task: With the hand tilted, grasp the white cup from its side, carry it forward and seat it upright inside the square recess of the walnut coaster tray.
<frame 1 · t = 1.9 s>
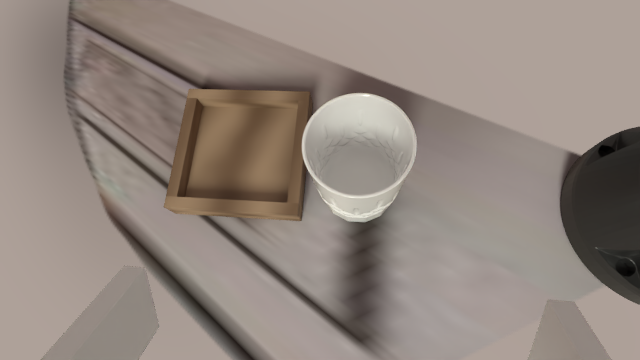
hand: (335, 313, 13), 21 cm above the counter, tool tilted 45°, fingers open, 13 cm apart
white cup: (358, 187, 37), on the counter
walnut coaster tray: (246, 157, 38), on the counter
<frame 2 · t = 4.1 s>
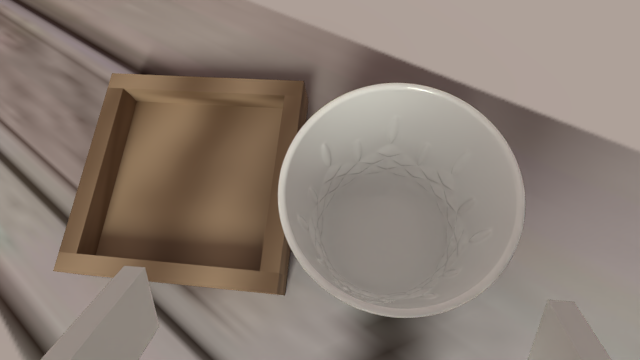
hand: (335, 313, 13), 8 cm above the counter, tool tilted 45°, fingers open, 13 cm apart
white cup: (379, 240, 22), on the counter
walnut coaster tray: (201, 184, 24), on the counter
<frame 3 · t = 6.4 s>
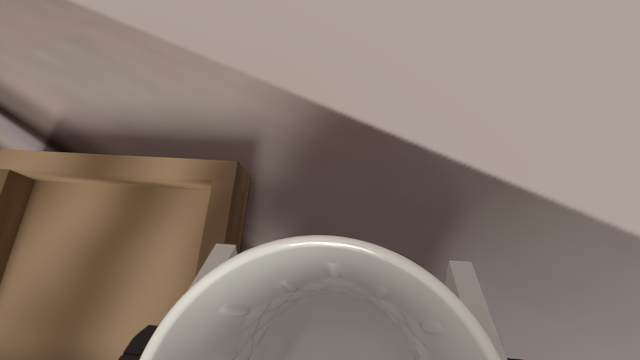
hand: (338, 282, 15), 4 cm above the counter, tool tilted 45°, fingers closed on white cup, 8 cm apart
walnut coaster tray: (110, 290, 19), on the counter
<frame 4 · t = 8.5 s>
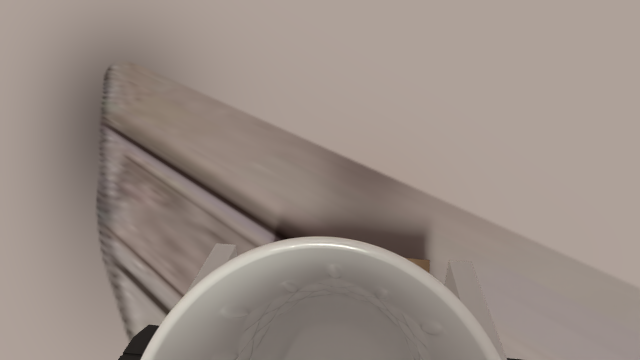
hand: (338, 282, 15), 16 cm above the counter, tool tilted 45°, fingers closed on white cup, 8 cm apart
when the fingers open (6 cm above the counter, at t = 10.9 s): white cup drops 1 cm, resting on walnut coaster tray.
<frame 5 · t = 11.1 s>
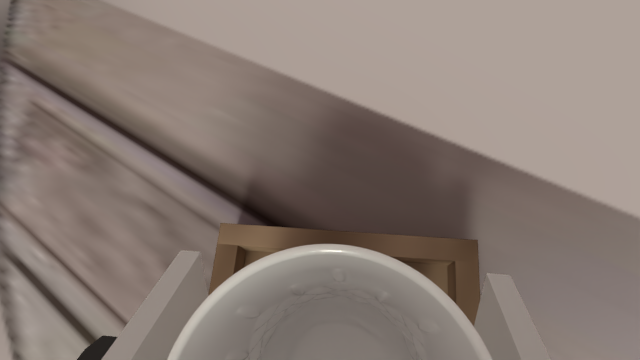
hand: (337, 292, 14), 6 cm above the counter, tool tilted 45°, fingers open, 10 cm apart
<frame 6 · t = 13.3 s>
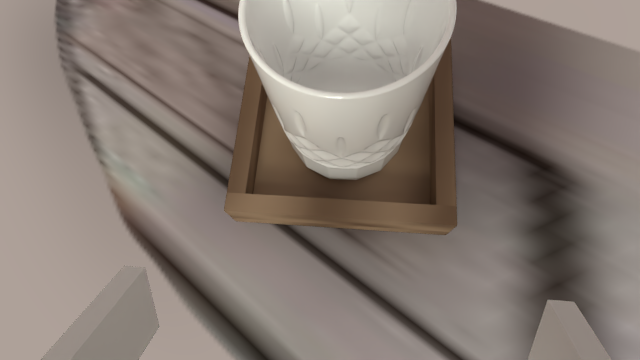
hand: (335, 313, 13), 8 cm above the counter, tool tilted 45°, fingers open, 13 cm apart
white cup: (346, 130, 24), point 1 cm above the counter, touching walnut coaster tray
walnut coaster tray: (344, 133, 24), on the counter
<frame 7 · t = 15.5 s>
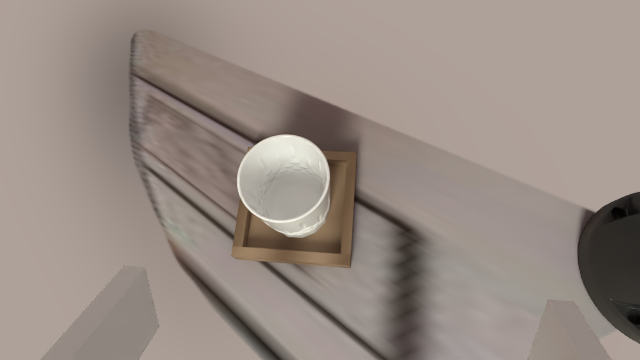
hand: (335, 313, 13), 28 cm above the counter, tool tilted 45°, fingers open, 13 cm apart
white cup: (298, 208, 43), point 1 cm above the counter, touching walnut coaster tray
walnut coaster tray: (298, 208, 43), on the counter
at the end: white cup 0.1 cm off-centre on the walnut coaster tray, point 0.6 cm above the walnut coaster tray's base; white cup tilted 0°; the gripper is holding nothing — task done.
